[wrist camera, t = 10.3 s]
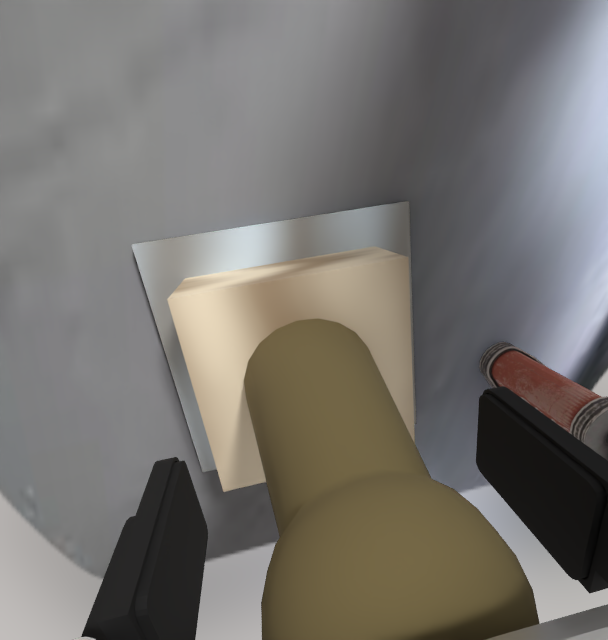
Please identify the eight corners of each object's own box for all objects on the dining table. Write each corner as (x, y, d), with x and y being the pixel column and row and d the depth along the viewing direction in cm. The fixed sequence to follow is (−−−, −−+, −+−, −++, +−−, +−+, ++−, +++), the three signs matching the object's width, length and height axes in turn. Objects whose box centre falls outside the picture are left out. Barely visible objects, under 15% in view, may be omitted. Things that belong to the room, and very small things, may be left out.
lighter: (468, 369, 22) (627, 488, 13) (505, 330, 22) (699, 425, 12) (534, 425, 25) (707, 558, 16) (568, 392, 24) (768, 509, 15)
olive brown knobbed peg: (363, 435, 17) (545, 796, 7) (240, 437, 16) (227, 875, 5) (384, 321, 15) (683, 575, 5) (247, 314, 14) (245, 627, 4)
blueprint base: (404, 201, 18) (452, 200, 14) (412, 418, 23) (450, 467, 18) (135, 243, 17) (96, 257, 12) (203, 465, 21) (192, 530, 17)
